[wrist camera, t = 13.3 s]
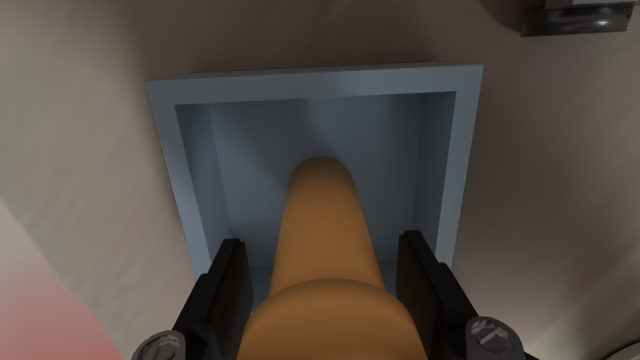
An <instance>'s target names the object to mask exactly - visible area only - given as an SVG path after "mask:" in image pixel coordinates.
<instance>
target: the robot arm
mask: <svg viewBox="0 0 640 360" xmlns="http://www.w3.org/2000/svg"><path fill="white" fill-rule="evenodd" d="M395 289H396V296H397V299H398V300H399V301H400V302H401V303H402V304H403V305H404V306H405V307H406V309H407V310H408V311H409V313H410V315H411V316H412V318H413V321H414V323H415V326H416V329H417V332H418V334H419V337H420V340H421V342H422V345H423V348H424V350H425V353H426V356H427V359H428V360H539V359H537V358H535V357H534V356H532V355H530V354H528V353H526V352H524V350H523V346H522V343H521V341H520V338H519V337H518V335H517V334H516V333H515V332H514V330H512V329H511V328H510V327H509V326H507V325H506V324H504V323H503V322H501V321H499V320H496V319H493V318H490V317H484V316H480V317H479V316H478V314H477V312H476V311H475V309H474V307H473V306H472V304H471V303H470V301H469V299H468V298H467V296H466V294H465V293H464V291H463V290H462V288H461V286H460V285H459V283H458V281H457V280H456V278H455V277H454V275H453V273H452V272H451V270H450V268H449V267H448V265H447V264H446V263H444V262H440V263H439V262H438V261H437V259H436V257H435V255H434V254H433V252H432V250H431V249H430V247H429V245H428V243H427V242H426V240H425V238H424V237H423V235H422V233H421V231H420V230H405V231H404V233H403V234H400V235H399V243H398V257H397V271H396V285H395ZM253 301H254V292H253V286H252V281H251V275H250V269H249V264H248V258H247V252H246V246H245V242H240V239H239V238H230V239H224V240H223V242H222V244H221V246H220V248H219V250H218V252H217V254H216V256H215V258H214V260H213V262H212V264H211V266H210V268H209V270H208V272H207V273H203V274H201V275H200V276H199V278H198V280H197V282H196V284H195V286H194V288H193V290H192V292H191V294H190V295H189V297H188V299H187V301H186V303H185V305H184V307H183V309H182V311H181V313H180V315H179V317H178V319H177V321H176V323H175V325H174V327H173V328H172V330H167V331H163V332H159V333H157V334H155V335H152V336H151V337H149V338H148V339H146V340H145V341H144V342H143V343H142V344H141V345H140V346H139V347H138V348H137V349H136V351H135V352H134V354H133V356H132V359H131V360H237V356H238V352H239V348H240V344H241V340H242V336H243V332H244V328H245V325H246V323H247V321H248V319H249V317H250V314H251V310H252V306H253ZM606 360H640V342H638V343H636V344H633V345H631V346H628V347H626V348H624V349H622V350H620V351H619V352H617V353H615V354H613V355H612V356H610V357H609V358H607V359H606Z"/></svg>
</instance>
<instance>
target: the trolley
mask: <svg viewBox="0 0 640 360" xmlns="http://www.w3.org/2000/svg"><path fill="white" fill-rule="evenodd" d="M634 5H640V0H547V1H546V5H545V6H544V7H538V8H532V9H528V10H526V12H525V17H524V22H523V27H522V32H521V37H535V36H554V35H573V34H590V33H607V32H622V31H626V29H627V26H628V23H629V20H630V17H631V14H632V11H633V8H634Z"/></svg>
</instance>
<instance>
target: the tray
mask: <svg viewBox="0 0 640 360" xmlns="http://www.w3.org/2000/svg"><path fill="white" fill-rule="evenodd" d="M483 70H484V64H473V63H460V62H447V61H424V62H403V63H383V64H363V65H343V66H323V67H302V68H282V69H262V70H242V71H222V72H201V73H188V74H182V75H176V76H171V77H165V78H159V79H154V80H148V81H144V84H145V88H146V92H147V95H148V99H149V103H150V107H151V110H152V114H153V118H154V122H155V125H156V129H157V133H158V136H159V140H160V144H161V148H162V151H163V155H164V159H165V163H166V166H167V170H168V174H169V178H170V181H171V185H172V189H173V193H174V196H175V200H176V204H177V208H178V211H179V215H180V219H181V223H182V226H183V230H184V234H185V238H186V241H187V245H188V249H189V253H190V256H191V260H192V264H193V268H194V271H195V275H196V279H197V280H198V278H199V276H200V275H201V274H203V273H207V272H208V270H209V268H210V266H211V264H212V262H213V260H214V258H215V256H216V254H217V252H218V250H219V248H220V246H221V244H222V242H223V240H224V239H230V238H239V239H240V242H245V246H246V252H247V258H248V264H249V269H250V275H251V281H252V286H253V292H254V301H253V306H252V310H251V314H252V313H253V311H254V310H255V309H256V308H257V307H258V306H259V305H260V304H261V303H262V302H263V301H264V300H266V299H267V298H268V294H269V289H270V284H271V278H272V273H273V268H274V262H275V257H276V251H277V246H278V241H279V235H280V230H281V224H282V219H283V214H284V208H285V203H286V197H287V192H288V187H289V181H290V177H291V175H292V173H293V171H294V170H295V168H296V167H297V166H298V165H299V164H301V163H302V162H303V161H305V160H307V159H310V158H313V157H329V158H333V159H335V160H337V161H339V162H341V163H342V164H343V165H344V166H345V167H346V168H347V169H348V170H349V172H350V174H351V177H352V180H353V183H354V186H355V190H356V193H357V196H358V199H359V203H360V206H361V209H362V213H363V216H364V219H365V223H366V226H367V229H368V233H369V236H370V239H371V243H372V246H373V249H374V253H375V256H376V259H377V263H378V266H379V269H380V272H381V276H382V279H383V282H384V286H385V289H386V292H388V293H389V294H391V295H393V296H394V297H395V298H396V299H397V296H396V289H395V285H396V271H397V257H398V243H399V235H400V234H403V233H404V231H405V230H420V231H421V233H422V235H423V237H424V238H425V240H426V242H427V243H428V245H429V247H430V249H431V250H432V252H433V254H434V255H435V257H436V259H437V261H438V262H439V263H440V262H444V263H446V264H447V265H448V267H449V268H450V270H451V268H452V262H453V256H454V250H455V244H456V237H457V231H458V225H459V219H460V213H461V207H462V200H463V194H464V188H465V182H466V176H467V169H468V163H469V157H470V151H471V145H472V138H473V132H474V126H475V120H476V114H477V108H478V101H479V95H480V89H481V83H482V77H483ZM251 314H250V316H251Z"/></svg>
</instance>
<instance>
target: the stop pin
mask: <svg viewBox="0 0 640 360" xmlns="http://www.w3.org/2000/svg"><path fill="white" fill-rule="evenodd" d="M237 360H428V359H427V356H426V353H425V350H424V348H423V345H422V342H421V340H420V337H419V334H418V332H417V329H416V326H415V323H414V321H413V318H412V316H411V315H410V313H409V311H408V310H407V309H406V307H405V306H404V305H403V304H402V303H401V302H400V301H399V300H398V299H396V298H395V297H394V296H393V295H391V294H389V293H388V292H386V289H385V286H384V282H383V279H382V276H381V272H380V269H379V266H378V263H377V259H376V256H375V253H374V249H373V246H372V243H371V239H370V236H369V233H368V229H367V226H366V223H365V219H364V216H363V213H362V209H361V206H360V203H359V199H358V196H357V193H356V190H355V186H354V183H353V180H352V177H351V174H350V172H349V170H348V169H347V168H346V167H345V166H344V165H343V164H342V163H341V162H339V161H337V160H335V159H333V158H329V157H313V158H310V159H307V160H305V161H303V162H302V163H301V164H299V165H298V166H297V167H296V168H295V170H294V171H293V173H292V175H291V177H290V181H289V187H288V192H287V197H286V203H285V208H284V214H283V219H282V224H281V230H280V235H279V241H278V246H277V251H276V257H275V262H274V268H273V273H272V278H271V284H270V289H269V294H268V298H267V299H266V300H264V301H263V302H262V303H261V304H260V305H259V306H258V307H257V308H256V309H255V310H254V311H253V313H252V314H251V316H250V317H249V319H248V321H247V323H246V325H245V328H244V332H243V336H242V340H241V344H240V348H239V352H238V356H237Z"/></svg>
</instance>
